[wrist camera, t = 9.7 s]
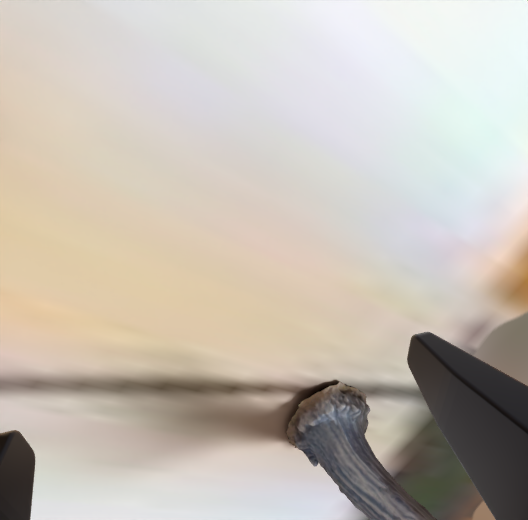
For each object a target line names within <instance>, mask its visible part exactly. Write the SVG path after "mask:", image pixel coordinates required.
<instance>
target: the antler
mask: <svg viewBox="0 0 528 520" xmlns="http://www.w3.org/2000/svg"><path fill="white" fill-rule="evenodd" d="M298 407H299V408H298V409H297V410H296V413H295V415H294V416H293V417H292V420H291V421H290V422H289V424H288V429H287V433H286V434H287V436H288V439H290V442H291V443H292V445H295V448H298V449H299V450H302V451H303V452H304V453H305V454H306V456H307V457H308V459H309V460H310V462H311V463H312V464H313V465H314V466H317V464H318V462H319V463H320V465H321V467H323V468H324V469H325V471H326V472H327V474H328V475H329V476H330V477H331V478H332V479H333V481H334V482H335V483H336V484H337V485H338V486H339V489H340V491H341V492H342V493H344V494H345V495H346V496H347V498H348V499H349V500H350V501H351V502H352V503H353V505H354V506H355V507H356V508H358V509H359V510H360V511H362V512H363V513H364V514H365V515H366V516H367V517H368V518H369V519H370V520H437V519H435V518H434V517H433V516H432V515H431V514H430V513H429V512H428V510H427V509H426V508H425V507H423V506H422V505H421V504H419V503H418V502H417V501H416V500H415V499H413V498H412V497H411V496H410V495H409V494H408V493H407V492H406V491H405V490H404V489H403V488H402V487H401V486H400V485H399V484H398V483H397V482H396V481H395V480H394V479H393V477H392V476H391V475H390V474H389V473H388V472H387V471H386V470H385V469H384V467H383V466H382V464H381V463H380V462H379V461H378V459H377V458H376V457H375V455H374V453H373V451H372V450H371V448H370V446H369V444H368V442H367V440H366V439H365V435H364V434H365V432H366V429H367V426H368V420H367V414H368V413H369V412H370V408H369V406H368V405H367V404H366V396H365V394H364V393H362V392H360V391H359V390H357V389H356V388H353V387H350V386H346V385H345V384H343V383H341V382H339V383H338V384H337V385H332V386H329V387H327V388H326V389H324V390H322V391H321V392H317V393H315V394H314V395H312V396H311V397H310V398H307V399H305V400H303V401H302V402H301V404H299V405H298Z"/></svg>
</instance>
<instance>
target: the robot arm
mask: <svg viewBox="0 0 528 520" xmlns="http://www.w3.org/2000/svg"><path fill="white" fill-rule="evenodd" d="M407 360H408V365H409V368H410V370H411V372H412V374H413V376H414V378H415V380H416V382H417V384H418V386H419V388H420V391H421V393H422V395H423V397H424V399H425V401H426V403H427V405H428V407H429V409H430V411H431V413H432V415H433V417H434V419H435V421H436V423H437V425H438V427H439V428H440V430H441V432H442V433H443V435H444V437H445V438H446V440H447V441H448V443H449V445H450V446H451V448H452V450H453V451H454V453H455V454H456V456H457V458H458V459H459V461H460V462H461V464H462V466H463V467H464V469H465V471H466V472H467V474H468V475H469V477H470V479H471V480H472V482H473V484H474V485H475V487H476V488H477V490H478V492H479V493H480V495H481V496H482V498H483V500H484V501H485V503H486V505H487V506H488V508H489V509H490V511H491V513H492V514H493V516H494V517H495V519H496V520H528V386H527V385H525V384H523V383H521V382H519V381H518V380H516V379H514V378H512V377H510V376H509V375H507V374H505V373H503V372H501V371H499V370H498V369H496V368H494V367H492V366H490V365H489V364H487V363H485V362H483V361H481V360H480V359H478V358H476V357H474V356H472V355H471V354H469V353H467V352H465V351H463V350H461V349H460V348H458V347H456V346H454V345H452V344H451V343H449V342H447V341H445V340H443V339H442V338H440V337H438V336H436V335H434V334H432V333H430V332H424V333H419V334H415V335H413V336H412V338H411V341H410V347H409V352H408V357H407ZM34 471H35V454H34V451H33V449H32V448H31V447H30V445H29V444H28V443H27V441H26V440H25V438H24V437H23V436H22V434H21V433H20V432H19V431H16V430H13V431H9V432H5V433H0V520H30V516H31V505H32V493H33V482H34Z"/></svg>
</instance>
